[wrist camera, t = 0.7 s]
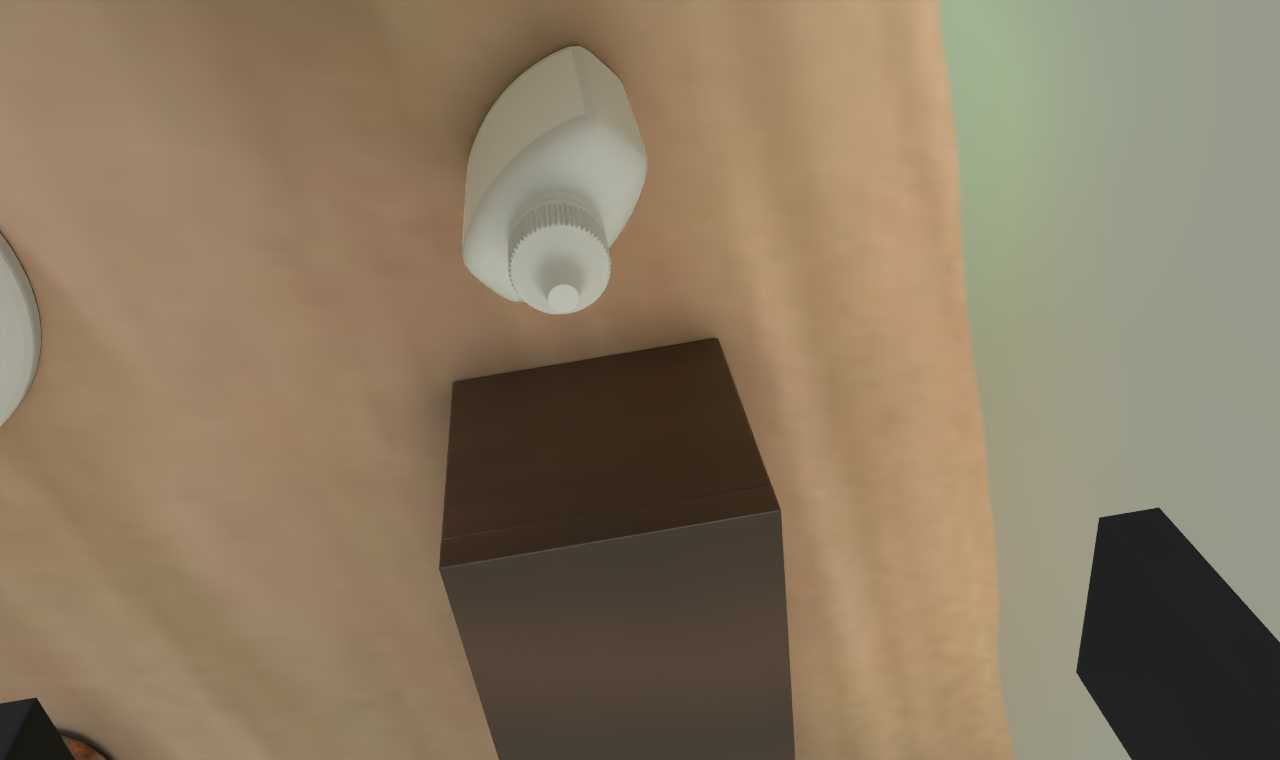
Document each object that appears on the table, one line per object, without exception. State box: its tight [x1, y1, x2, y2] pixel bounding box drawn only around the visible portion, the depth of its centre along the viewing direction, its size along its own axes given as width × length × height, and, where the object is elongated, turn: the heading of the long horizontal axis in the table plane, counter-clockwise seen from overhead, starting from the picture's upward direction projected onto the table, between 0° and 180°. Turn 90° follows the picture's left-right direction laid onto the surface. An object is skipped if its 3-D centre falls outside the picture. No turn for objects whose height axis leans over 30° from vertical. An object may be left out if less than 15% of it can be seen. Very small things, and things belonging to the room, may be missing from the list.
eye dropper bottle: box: [462, 46, 647, 315], centre depth 28 cm, size 4×6×12 cm
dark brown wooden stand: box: [439, 339, 795, 760], centre depth 38 cm, size 18×10×10 cm, turn 7°
